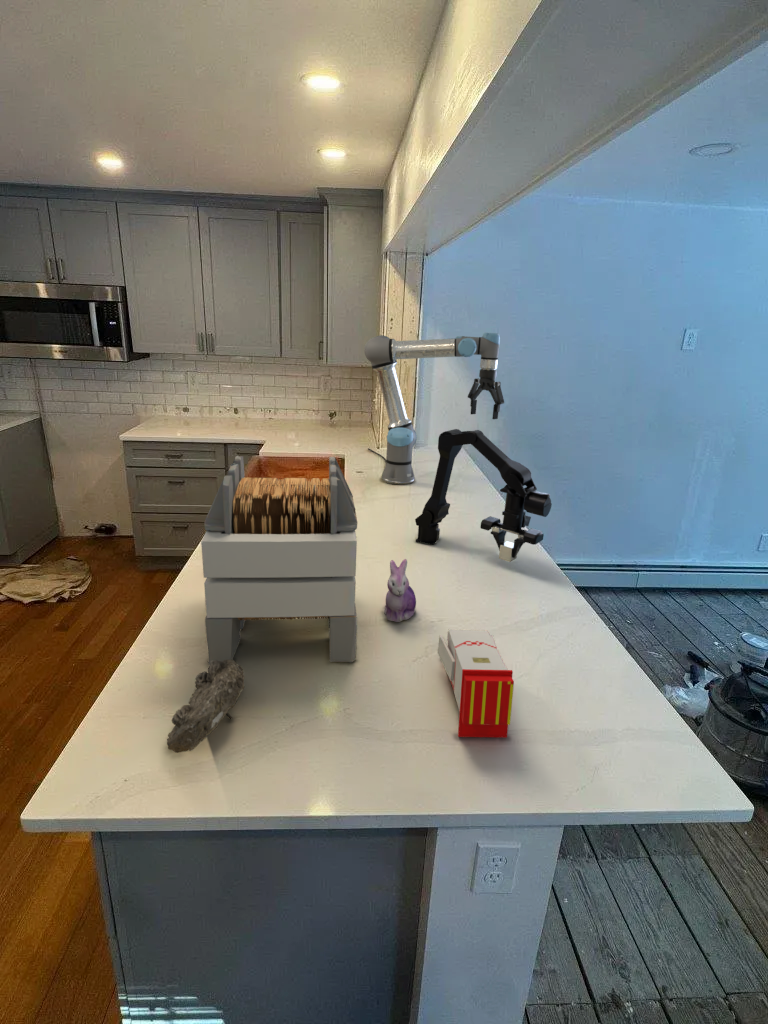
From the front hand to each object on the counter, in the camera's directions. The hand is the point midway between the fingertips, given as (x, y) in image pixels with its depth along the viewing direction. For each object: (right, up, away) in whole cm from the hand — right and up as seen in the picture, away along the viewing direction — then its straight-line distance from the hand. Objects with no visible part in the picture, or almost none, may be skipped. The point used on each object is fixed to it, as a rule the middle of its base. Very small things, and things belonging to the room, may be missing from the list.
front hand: (508, 555), depth 177 cm
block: (0, -1, 0) cm, 1 cm away
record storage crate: (-63, -14, -36) cm, 74 cm away
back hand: (+7, +57, +83) cm, 101 cm away
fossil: (-71, -26, -68) cm, 102 cm away
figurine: (-35, -13, -29) cm, 47 cm away
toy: (-21, -24, -58) cm, 66 cm away
